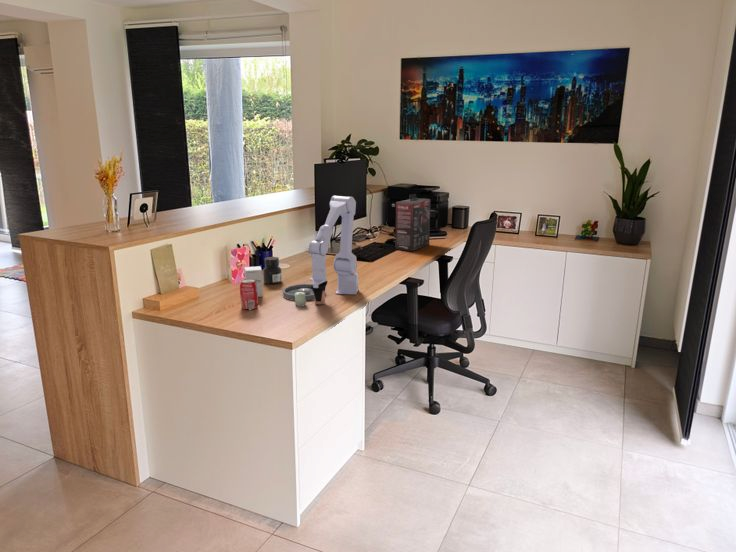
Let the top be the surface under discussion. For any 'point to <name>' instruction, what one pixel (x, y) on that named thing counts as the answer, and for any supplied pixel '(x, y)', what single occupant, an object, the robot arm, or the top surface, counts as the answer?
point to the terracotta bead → (321, 299)
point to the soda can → (248, 294)
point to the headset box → (412, 223)
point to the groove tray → (306, 288)
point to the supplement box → (255, 277)
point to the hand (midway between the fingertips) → (319, 299)
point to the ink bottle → (272, 271)
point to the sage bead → (300, 299)
